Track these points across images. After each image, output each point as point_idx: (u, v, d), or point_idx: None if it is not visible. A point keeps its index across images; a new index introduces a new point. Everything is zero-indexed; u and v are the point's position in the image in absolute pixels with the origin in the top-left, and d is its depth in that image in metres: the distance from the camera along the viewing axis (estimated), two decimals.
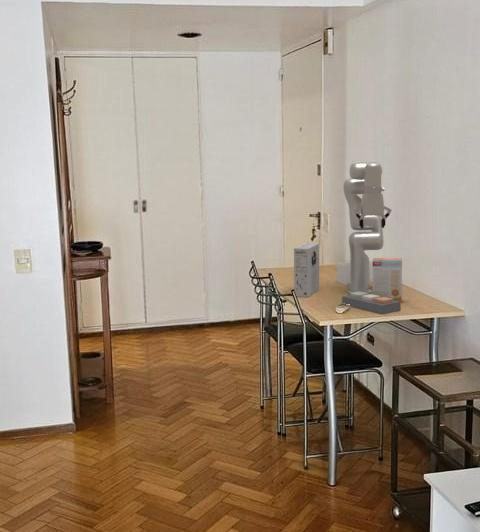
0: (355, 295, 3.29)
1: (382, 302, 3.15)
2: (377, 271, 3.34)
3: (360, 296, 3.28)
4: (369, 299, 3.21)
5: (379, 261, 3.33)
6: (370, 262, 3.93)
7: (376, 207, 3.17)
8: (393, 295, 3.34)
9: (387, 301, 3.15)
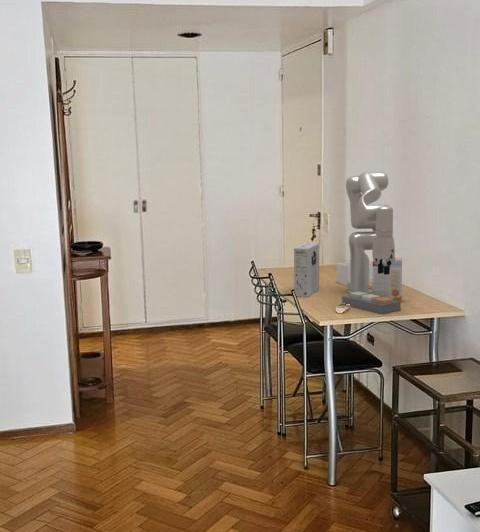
0: (355, 295, 3.29)
1: (382, 302, 3.15)
2: (377, 271, 3.34)
3: (360, 296, 3.28)
4: (369, 299, 3.21)
5: None
6: (370, 262, 3.93)
7: None
8: (393, 295, 3.34)
9: (387, 301, 3.15)
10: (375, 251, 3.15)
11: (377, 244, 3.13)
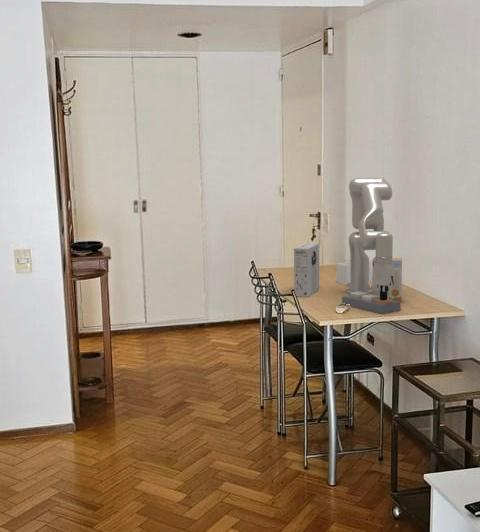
0: (355, 295, 3.29)
1: (382, 303, 3.15)
2: None
3: (360, 296, 3.28)
4: (369, 299, 3.21)
5: None
6: (370, 262, 3.93)
7: None
8: (393, 295, 3.34)
9: (387, 302, 3.16)
10: (375, 277, 3.17)
11: (377, 270, 3.15)
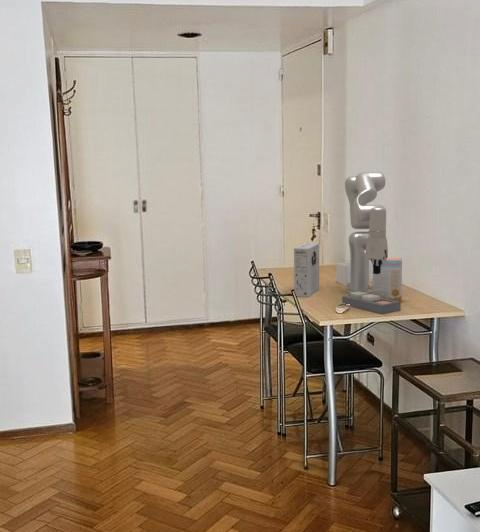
0: (355, 295, 3.29)
1: None
2: None
3: (360, 296, 3.28)
4: (369, 299, 3.21)
5: None
6: (370, 262, 3.93)
7: None
8: (393, 295, 3.34)
9: None
10: (368, 251, 3.19)
11: (370, 244, 3.17)
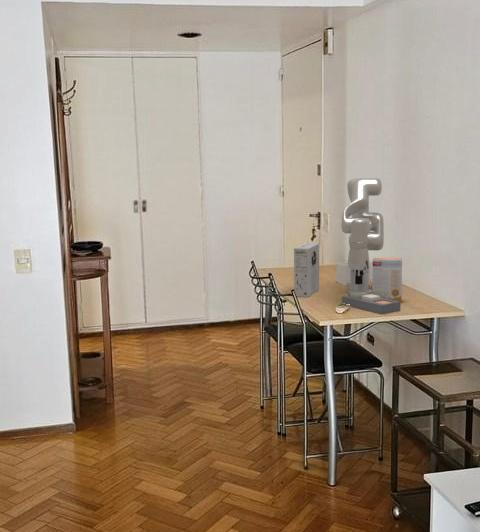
0: (355, 295, 3.29)
1: None
2: (377, 271, 3.34)
3: (360, 296, 3.28)
4: (369, 299, 3.21)
5: (379, 261, 3.33)
6: (370, 262, 3.93)
7: None
8: (393, 295, 3.34)
9: None
10: (350, 262, 3.29)
11: (352, 255, 3.27)
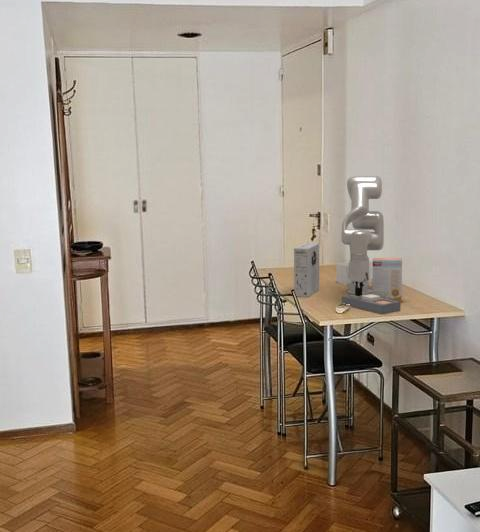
0: (355, 297, 3.29)
1: None
2: (377, 271, 3.34)
3: None
4: (369, 299, 3.21)
5: (379, 261, 3.33)
6: (370, 262, 3.93)
7: None
8: (393, 295, 3.34)
9: None
10: (350, 274, 3.30)
11: (352, 267, 3.28)
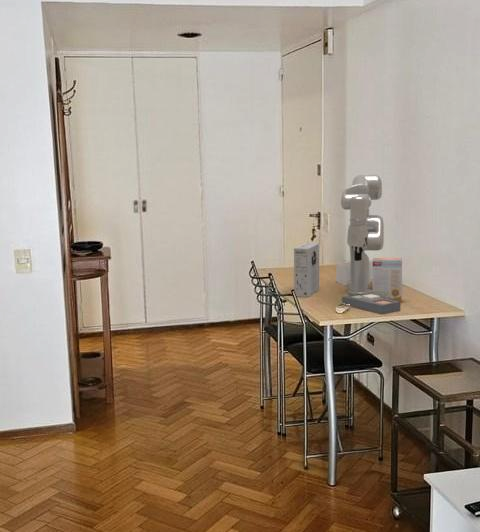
0: None
1: None
2: (377, 271, 3.34)
3: None
4: (369, 299, 3.21)
5: (379, 261, 3.33)
6: (370, 262, 3.93)
7: None
8: (393, 295, 3.34)
9: None
10: (350, 239, 3.30)
11: (351, 232, 3.28)
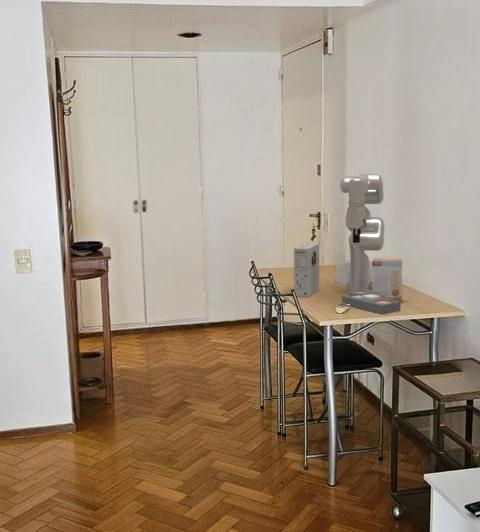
0: None
1: None
2: (377, 271, 3.34)
3: None
4: (369, 299, 3.21)
5: (379, 261, 3.33)
6: (369, 262, 3.93)
7: None
8: (393, 295, 3.34)
9: None
10: (348, 221, 3.32)
11: (350, 214, 3.30)
